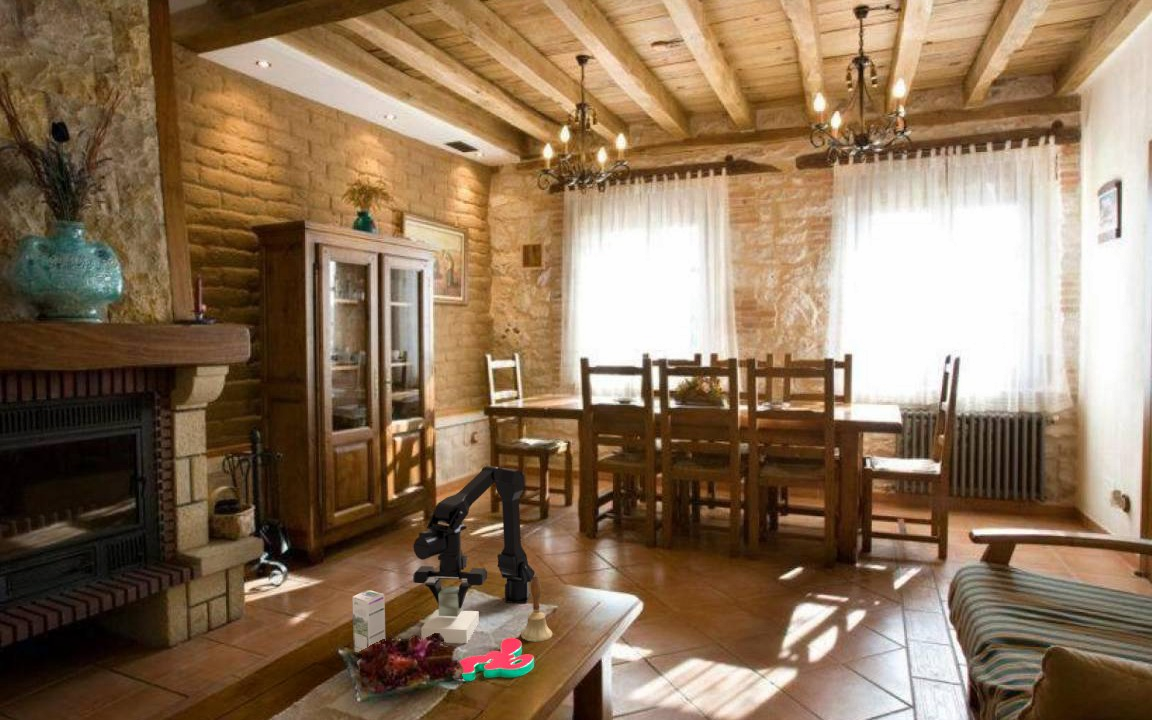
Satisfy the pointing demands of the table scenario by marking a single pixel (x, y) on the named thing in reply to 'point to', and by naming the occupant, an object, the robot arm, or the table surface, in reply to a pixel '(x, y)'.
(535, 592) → the hand bell
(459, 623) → the cream block
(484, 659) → the squiggly shape
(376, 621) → the syrup box
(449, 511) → the robot arm
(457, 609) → the green block
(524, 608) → the table surface
